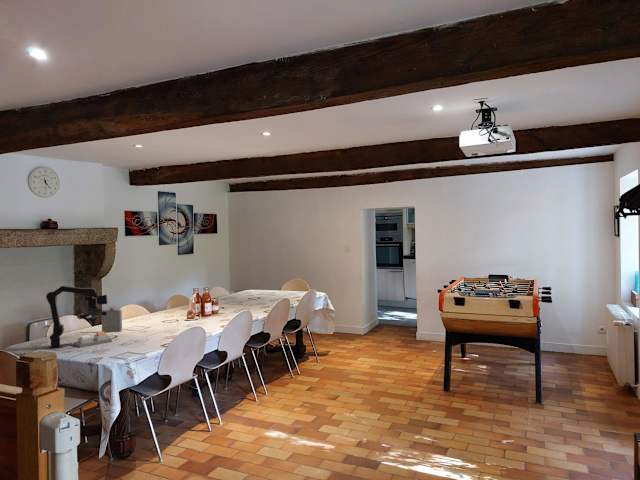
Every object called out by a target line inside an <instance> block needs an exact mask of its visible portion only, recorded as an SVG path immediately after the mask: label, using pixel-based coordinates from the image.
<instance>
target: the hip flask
mask: <svg viewBox="0 0 640 480" xmlns="http://www.w3.org/2000/svg"><path fill="white" fill-rule="evenodd" d="M102 311H106V312H107V315H101V332H106V333H114V332H115V333H120V332H123V317H122V316H123V315H122V314H123V311H122V309H115V307H114V306H112V307H111V306H110V307H109V309H106V310H105V309H104V310H103V309H102Z"/></svg>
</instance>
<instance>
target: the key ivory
mask: <svg viewBox="0 0 640 480" xmlns="http://www.w3.org/2000/svg"><path fill="white" fill-rule="evenodd" d="M90 337H91V335H88V334H86V335H80V337H79V338H81V339H87V338H90Z"/></svg>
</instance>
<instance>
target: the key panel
mask: <svg viewBox="0 0 640 480" xmlns="http://www.w3.org/2000/svg"><path fill="white" fill-rule="evenodd" d="M112 342H113V339H112V338H110V337H109V334H107V333H106V335H104V336H96V334H94V335H93V337H92V336H90V338H87V339H81V338H80V337H78V338H77V341H74V342H73V344H74V346H75V347H78V348H85V347H92V346H96V345H102V344H103V345H104V344H107V343H112Z"/></svg>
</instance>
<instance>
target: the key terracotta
mask: <svg viewBox="0 0 640 480" xmlns="http://www.w3.org/2000/svg"><path fill="white" fill-rule="evenodd" d="M106 334H107V332H102V331H96V332H95V335H96V336H104V335H106Z"/></svg>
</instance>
